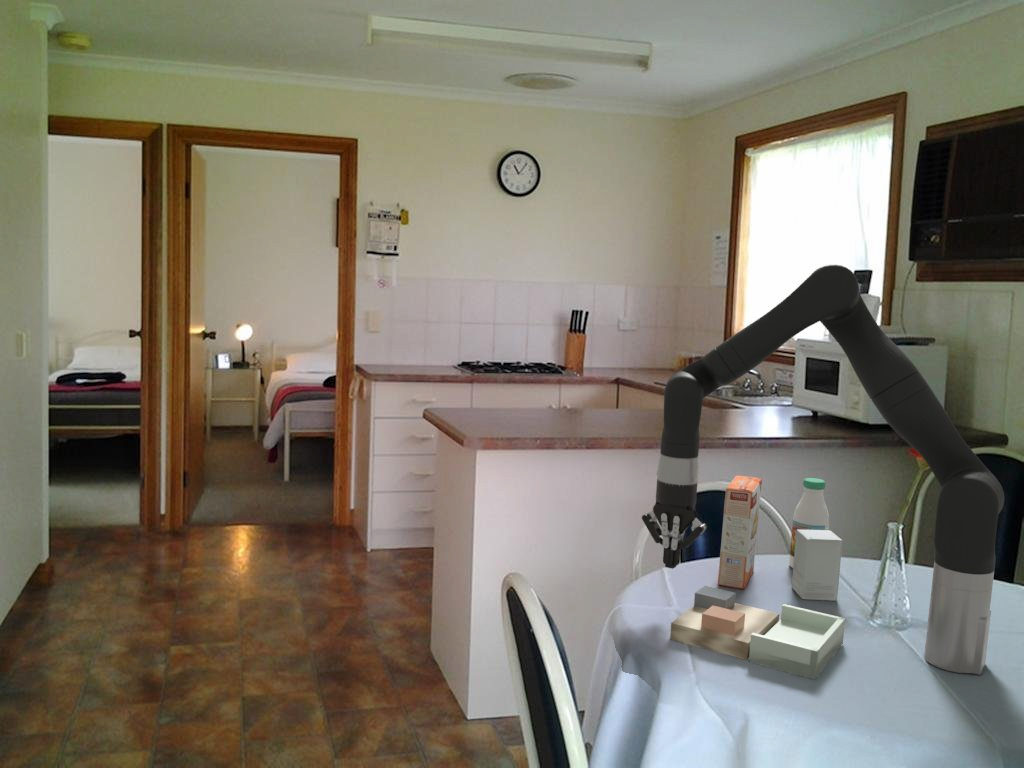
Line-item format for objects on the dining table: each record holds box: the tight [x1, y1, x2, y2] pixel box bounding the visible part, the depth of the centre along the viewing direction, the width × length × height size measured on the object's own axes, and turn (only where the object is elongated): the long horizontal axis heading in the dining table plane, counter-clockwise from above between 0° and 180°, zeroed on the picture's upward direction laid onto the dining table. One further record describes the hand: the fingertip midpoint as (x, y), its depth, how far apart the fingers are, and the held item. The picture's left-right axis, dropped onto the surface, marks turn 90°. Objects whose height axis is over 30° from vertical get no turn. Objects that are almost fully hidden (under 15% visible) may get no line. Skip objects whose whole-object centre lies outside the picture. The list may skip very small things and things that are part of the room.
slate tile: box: [693, 585, 736, 609], centre depth 178 cm, size 6×5×2 cm
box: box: [748, 603, 846, 681], centre depth 165 cm, size 11×18×5 cm, turn 147°
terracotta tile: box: [701, 606, 745, 636], centre depth 168 cm, size 6×5×2 cm
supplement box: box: [791, 529, 843, 602], centre depth 195 cm, size 7×7×13 cm
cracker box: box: [717, 474, 763, 590], centre depth 202 cm, size 14×6×21 cm, turn 158°
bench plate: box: [669, 602, 780, 661], centre depth 172 cm, size 14×17×3 cm
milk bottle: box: [788, 477, 830, 569], centre depth 211 cm, size 8×8×20 cm
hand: (670, 566), depth 182 cm, fingers closed
